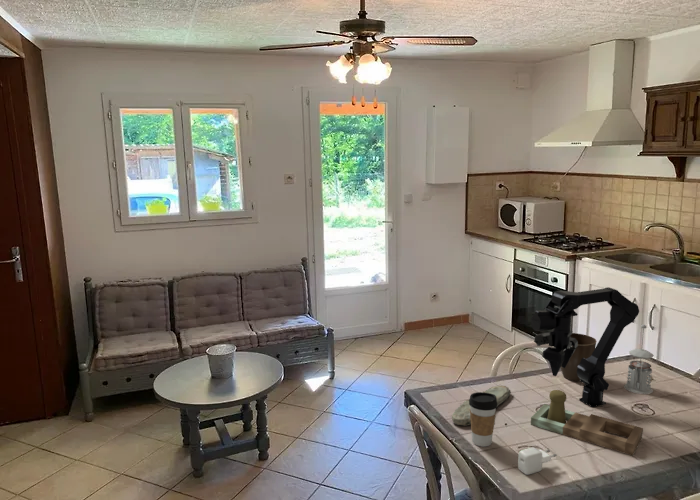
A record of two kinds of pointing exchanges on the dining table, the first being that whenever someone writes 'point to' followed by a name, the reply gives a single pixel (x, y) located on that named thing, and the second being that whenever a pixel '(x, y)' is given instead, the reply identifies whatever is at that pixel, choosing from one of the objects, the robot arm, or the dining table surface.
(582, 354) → the plant pot
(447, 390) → the dining table surface
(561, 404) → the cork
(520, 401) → the dining table surface
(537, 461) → the power adapter
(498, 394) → the elongated rock
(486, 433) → the coffee cup
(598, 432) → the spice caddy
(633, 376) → the french press
